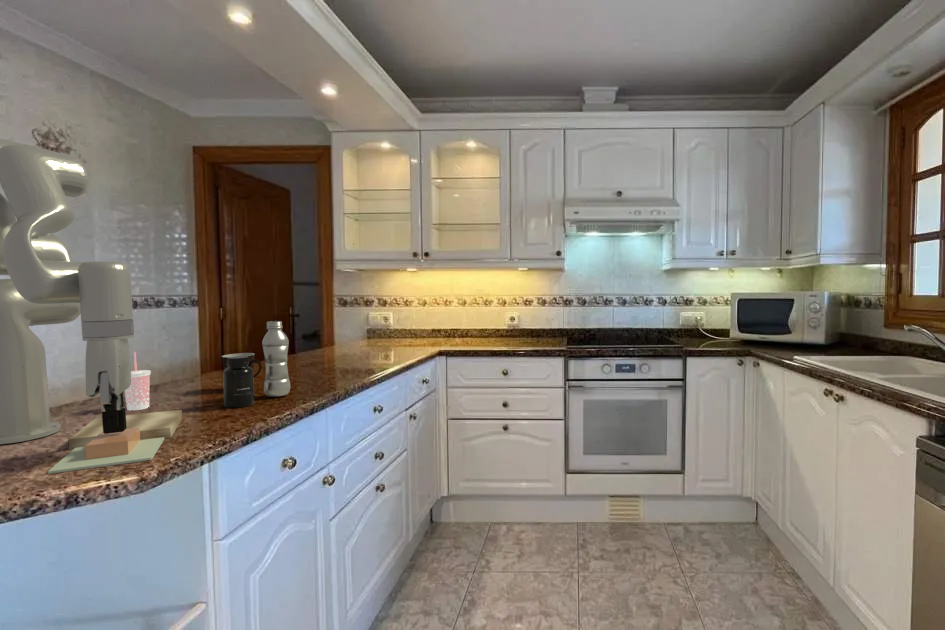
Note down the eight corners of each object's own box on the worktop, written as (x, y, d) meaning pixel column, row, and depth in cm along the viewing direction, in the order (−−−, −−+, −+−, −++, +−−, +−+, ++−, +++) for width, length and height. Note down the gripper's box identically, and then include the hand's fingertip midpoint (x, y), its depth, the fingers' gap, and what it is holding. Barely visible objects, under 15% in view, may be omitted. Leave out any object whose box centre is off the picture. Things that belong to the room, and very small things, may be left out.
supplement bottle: (242, 408, 120) (240, 359, 119) (218, 408, 121) (215, 359, 120) (260, 402, 126) (258, 355, 126) (236, 401, 128) (234, 355, 127)
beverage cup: (158, 404, 126) (154, 349, 125) (143, 410, 120) (139, 353, 119) (133, 405, 126) (129, 350, 125) (117, 411, 120) (113, 353, 119)
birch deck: (69, 450, 91) (68, 439, 91) (95, 427, 106) (94, 418, 105) (170, 437, 97) (170, 427, 97) (182, 418, 112) (181, 409, 112)
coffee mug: (219, 390, 143) (217, 355, 143) (249, 385, 149) (248, 352, 149) (233, 395, 135) (231, 359, 134) (265, 390, 141) (263, 355, 140)
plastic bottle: (265, 395, 135) (261, 321, 134) (291, 392, 137) (288, 320, 136) (262, 400, 129) (259, 323, 128) (290, 397, 131) (287, 321, 130)
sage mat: (47, 474, 79) (47, 471, 79) (75, 450, 91) (75, 447, 91) (151, 460, 84) (151, 457, 84) (164, 439, 96) (164, 437, 96)
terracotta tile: (86, 459, 84) (85, 445, 84) (102, 444, 92) (101, 431, 92) (128, 454, 86) (127, 440, 86) (140, 439, 95) (139, 427, 95)
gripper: (95, 328, 95) (101, 424, 96) (67, 335, 81) (75, 446, 82) (142, 326, 97) (147, 419, 99) (123, 332, 84) (130, 440, 85)
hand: (115, 431), depth 90 cm, fingers closed
